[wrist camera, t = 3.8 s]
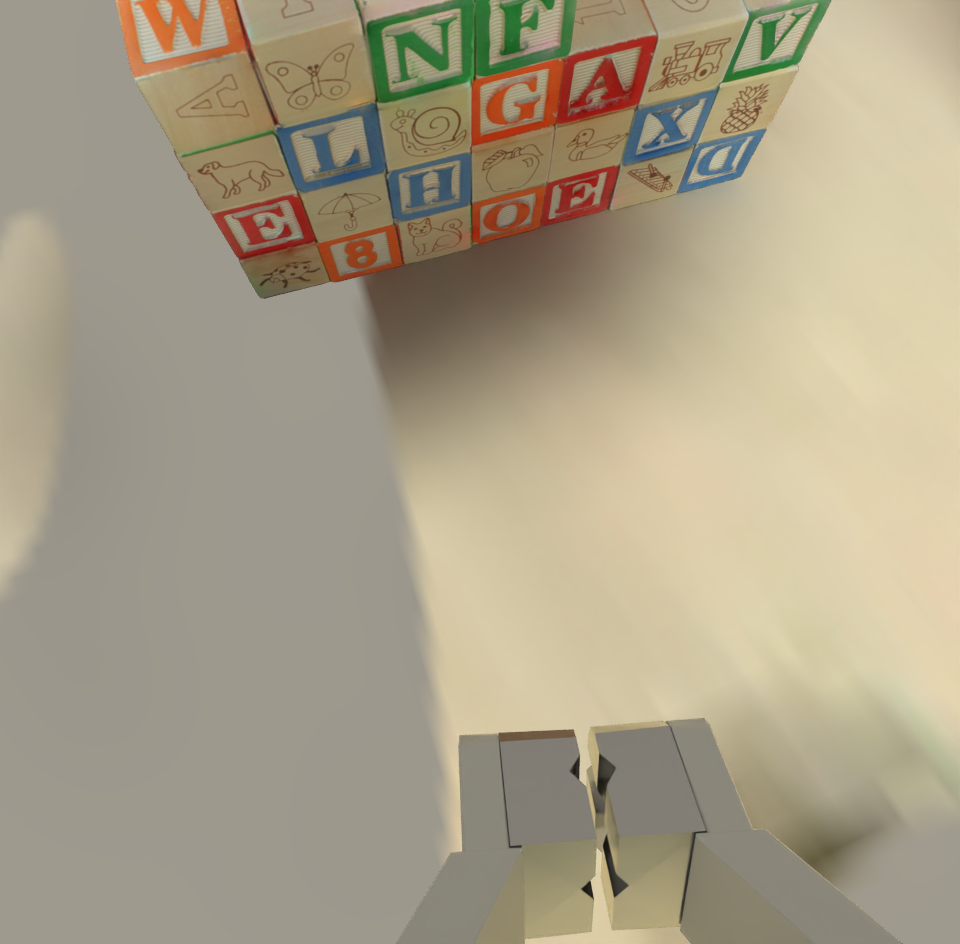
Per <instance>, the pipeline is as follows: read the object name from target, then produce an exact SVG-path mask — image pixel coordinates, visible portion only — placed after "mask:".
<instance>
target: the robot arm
mask: <svg viewBox="0 0 960 944" xmlns="http://www.w3.org/2000/svg"><path fill="white" fill-rule="evenodd" d="M458 748H459V774H460V800H461V826H462V851H463V852H453V853H450V855H449V857H448V858H447V860H446V862H445V863H444V865H443V867H442V868H441V870H440V871H439V874H438V875H437V877H436V878H435V880H434V881H433V883H432V885H431V886H430V888H429V890H428V891H427V893H426V895H425V896H424V898H423V900H422V901H421V903H420V905H419V906H418V908H417V909H416V912H415V913H414V914H413V916H412V918H411V920H410V921H409V923H408V924H407V926H406V928H405V929H404V931H403V933H402V934H401V936H400V938H399V939H398V941H397V943H396V944H525V939H531V938H540V937H549V936H558V935H567V934H576V933H585V932H592V918H593V905H594V898H593V892H592V887H591V881H590V880H591V879H592V878H593V877H594V876H595V871H596V847H597V848H598V849H599V850H600V851H601V852H602V866H601V881H602V885H603V890H604V895H605V900H606V904H607V909H608V914H609V918H610V923H611V928H612V930H626V929H645V928H665V927H681V928H680V931H681V932H682V933H683V935H684V936H685V937H686V938H687V939H688V941H689V942H690V943H691V944H903V943H902V942H901V941H899V940H898V939H897V938H896V937H895V936H893V935H892V934H891V933H890V932H889V931H887V930H886V929H885V928H884V927H883V926H881V925H880V924H879V923H878V922H876V921H875V920H874V919H873V918H872V917H871V916H869V915H868V914H867V913H866V912H865V911H863V910H862V909H861V908H860V907H859V906H857V905H856V904H855V903H854V902H853V901H851V900H850V899H849V898H848V897H846V896H845V895H844V894H843V893H842V892H841V891H839V890H838V889H837V888H836V887H835V886H833V885H832V884H831V883H830V882H829V881H827V880H826V879H825V878H824V877H823V876H821V875H820V874H819V873H818V872H817V871H815V870H814V869H813V868H812V867H811V866H809V865H808V864H807V863H806V862H805V861H803V860H802V859H801V858H800V857H799V856H797V855H796V854H795V853H794V852H793V851H791V850H790V849H789V848H788V847H787V846H785V845H784V844H783V843H782V842H781V841H779V840H778V839H777V838H776V837H775V836H773V835H772V834H771V833H770V832H769V831H768V830H766V829H753V827H752V825H751V822H750V820H749V817H748V815H747V813H746V810H745V808H744V805H743V803H742V801H741V798H740V796H739V793H738V791H737V789H736V786H735V784H734V781H733V779H732V777H731V774H730V772H729V769H728V767H727V765H726V762H725V760H724V757H723V755H722V753H721V750H720V748H719V745H718V743H717V740H716V738H715V736H714V733H713V731H712V728H711V726H710V724H709V723H708V722H707V721H706V720H705V719H704V718H700V719H687V720H674V721H666V722H664V721H653V722H642V723H630V724H618V725H607V726H595V727H590V730H589V735H588V750H589V755H590V759H591V764H592V765H591V766H590V767H589V768H588V769H587V787H586V786H585V785H584V784H583V783H582V782H581V781H580V780H579V766H580V753H579V749H578V744H577V740H576V736H575V733H574V730H573V729H572V730H550V731H528V732H507V733H498V735H497V733H493V734H475V735H460V736H459V746H458Z"/></svg>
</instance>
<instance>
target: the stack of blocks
mask: <svg viewBox="0 0 960 944" xmlns="http://www.w3.org/2000/svg"><path fill="white" fill-rule="evenodd" d="M830 2H831V0H116V4H117V9H118V13H119V18H120V22H121V27H122V32H123V37H124V41H125V46H126V50H127V55H128V59H129V64H130V69H131V72H132V75H133V78H134V80H135V82H136V84H137V86H138V88H139V89H140V91H141V93H142V95H143V96H144V98H145V100H146V101H147V103H148V105H149V107H150V108H151V110H152V111H153V113H154V115H155V117H156V118H157V120H158V122H159V123H160V125H161V127H162V129H163V130H164V132H165V134H166V136H167V137H168V139H169V141H170V142H171V144H172V146H173V148H174V152H175V155H176V157H177V159H178V161H179V162H180V164H181V166H182V168H183V169H184V170H185V171H186V172H187V175H188V178H189V180H190V181H191V183H192V184H193V185H194V187H195V188H196V191H197V193H198V195H199V196H200V198H201V200H202V201H203V203H204V205H205V206H206V207H207V209H208V210H209V211H210V212H211V215H212V216H213V218H214V220H215V221H216V223H217V225H218V227H219V228H220V230H221V231H222V233H223V235H224V236H225V238H226V240H227V241H228V243H229V245H230V246H231V248H232V250H233V251H234V253H235V254H236V256H237V257H238V258H239V261H240V264H241V266H242V268H243V270H244V271H245V273H246V275H247V277H248V279H249V280H250V282H251V284H252V286H253V287H254V289H255V291H256V292H257V294H258V295H259V297H260V298H264V299H265V298H269V297H273V296H277V295H280V294H285V293H289V292H293V291H297V290H301V289H305V288H309V287H313V286H317V285H321V284H324V283H327V282H340V281H344V280H348V279H352V278H356V277H360V276H362V275H366V274H370V273H374V272H378V271H382V270H386V269H390V268H394V267H398V266H401V265H403V264H410V263H414V262H419V261H424V260H428V259H431V258H435V257H439V256H443V255H447V254H451V253H455V252H458V251H463V250H466V249H469V248H471V247H472V246H473V245H475V244H478V243H485V242H488V241H490V240H495V239H498V238H502V237H507V236H511V235H515V234H518V233H522V232H526V231H530V230H534V229H537V228H539V227H540V226H545V225H549V224H552V223H557V222H562V221H566V220H570V219H574V218H577V217H580V216H584V215H589V214H592V213H597V212H600V211H603V210H605V209H609V210H616V209H620V208H624V207H628V206H632V205H636V204H639V203H643V202H647V201H652V200H656V199H660V198H664V197H667V196H671V195H673V194H675V193H682V192H686V191H690V190H694V189H697V188H702V187H705V186H709V185H712V184H716V183H721V182H724V181H728V180H732V179H735V178H738V177H741V175H742V174H743V172H744V170H745V168H746V166H747V165H748V163H749V161H750V159H751V157H752V155H753V154H754V152H755V150H756V148H757V146H758V144H759V142H760V141H761V139H762V137H763V135H764V133H765V132H766V127H767V126H768V125H769V124H770V123H771V121H772V119H773V118H774V116H775V114H776V112H777V110H778V108H779V106H780V105H781V103H782V101H783V99H784V97H785V95H786V93H787V91H788V89H789V87H790V86H791V84H792V82H793V80H794V78H795V76H796V74H797V72H798V69H799V66H798V63H799V62H800V60H801V59H802V57H803V55H804V53H805V51H806V49H807V48H808V46H809V44H810V42H811V40H812V37H813V35H814V33H815V32H816V30H817V28H818V26H819V24H820V22H821V20H822V18H823V16H824V14H825V12H826V10H827V8H828V6H829V4H830Z"/></svg>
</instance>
